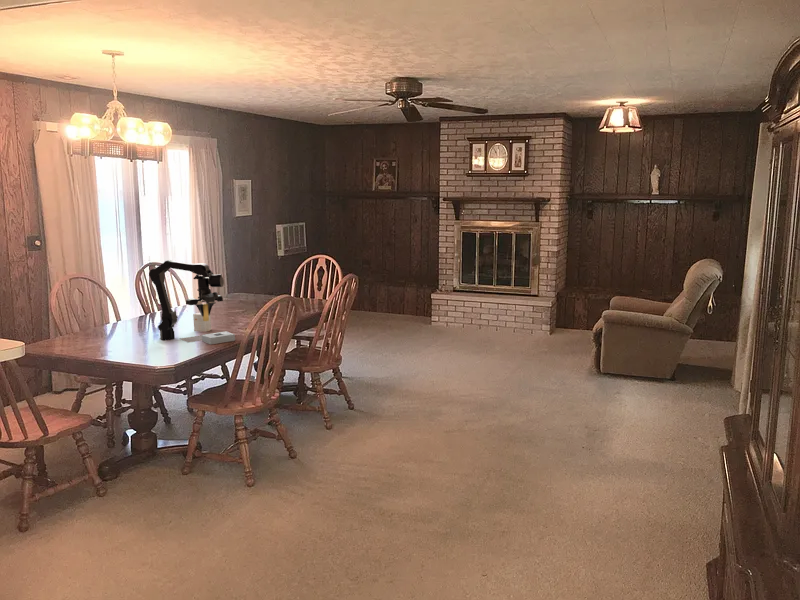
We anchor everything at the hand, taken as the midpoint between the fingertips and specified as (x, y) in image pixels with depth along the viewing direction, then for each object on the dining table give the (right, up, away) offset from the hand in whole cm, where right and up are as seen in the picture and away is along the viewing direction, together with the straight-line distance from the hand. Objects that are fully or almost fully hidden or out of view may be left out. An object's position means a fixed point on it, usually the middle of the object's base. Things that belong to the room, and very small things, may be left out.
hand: (205, 315), depth 357 cm
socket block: (+7, -14, -1) cm, 16 cm away
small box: (-9, -10, +25) cm, 28 cm away
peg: (0, -3, 0) cm, 3 cm away
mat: (-6, -13, +4) cm, 15 cm away
